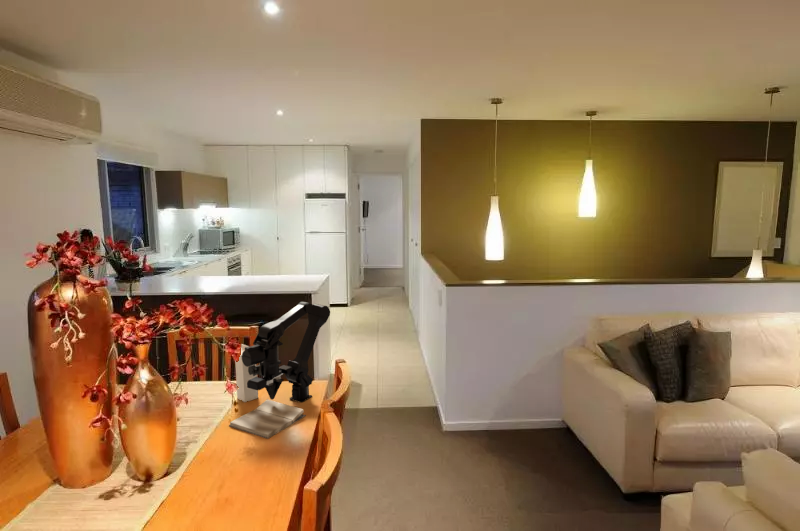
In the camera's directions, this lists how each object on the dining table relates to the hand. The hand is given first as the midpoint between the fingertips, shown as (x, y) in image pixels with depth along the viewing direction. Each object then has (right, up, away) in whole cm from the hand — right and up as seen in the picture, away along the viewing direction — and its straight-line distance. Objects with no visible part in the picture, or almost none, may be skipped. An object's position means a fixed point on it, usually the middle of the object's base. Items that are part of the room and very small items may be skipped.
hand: (272, 398), depth 172 cm
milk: (-13, -3, +12) cm, 18 cm away
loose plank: (+4, -4, -3) cm, 6 cm away
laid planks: (-1, -6, -11) cm, 13 cm away
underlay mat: (+1, -6, -8) cm, 10 cm away
